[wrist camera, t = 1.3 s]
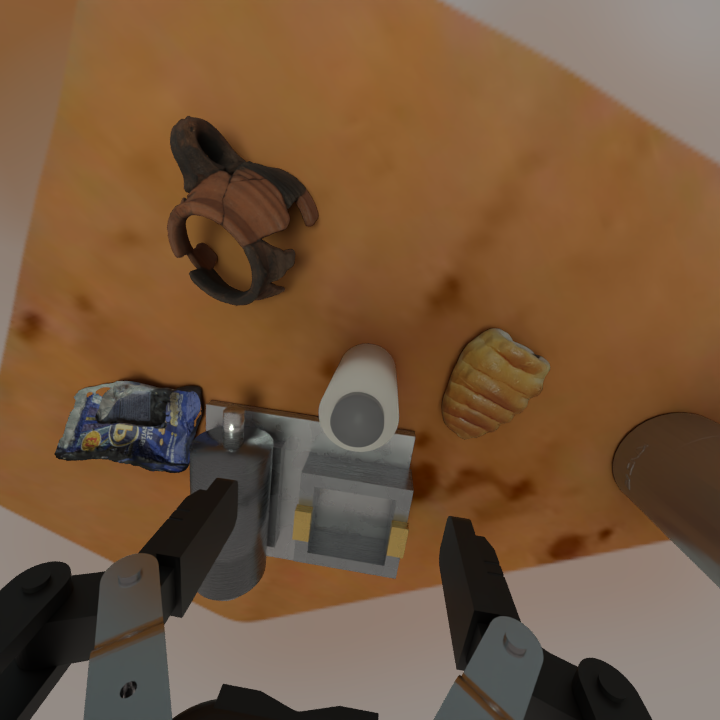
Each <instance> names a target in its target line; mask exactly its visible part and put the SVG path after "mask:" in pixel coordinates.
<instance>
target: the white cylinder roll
mask: <svg viewBox="0 0 720 720" xmlns="http://www.w3.org/2000/svg"><path fill="white" fill-rule="evenodd" d="M319 421H320V425H321V427H322V429H323V431H324V433H325V434H326V436H327V437H328V438H329V439H330V440H331V441H332V442H333V443H335V444H336V445H338V446H339V447H341V448H344V449H346V450H350V451H355V452H366V451H371V450H374V449H377V448H379V447H381V446H383V445H384V444H385V443H387V442H388V441H389V440H390V439H391V438H392V436H393V435H394V433H395V431H396V429H397V426H398V422H399V407H398V391H397V376H396V366H395V362H394V360H393V358H392V356H391V355H390V354H389V353H388V352H387V351H386V350H385V349H383V348H382V347H380V346H378V345H374V344H360V345H356V346H354V347H352V348H351V349H349V350H348V351H347V352H346V353H345V354H344V356H343V357H342V359H341V361H340V363H339V365H338V367H337V369H336V371H335V373H334V375H333V377H332V380H331V382H330V384H329V386H328V388H327V390H326V392H325V394H324V396H323V398H322V400H321V402H320V406H319Z"/></svg>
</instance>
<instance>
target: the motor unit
mask: <svg viewBox="0 0 720 720" xmlns="http://www.w3.org/2000/svg"><path fill="white" fill-rule="evenodd" d="M414 441H415V431H408V430H402V429H396V431H395V433H394V435H393V436H392V438H391V439H390V440H389V441H388V442H387V443H385V444H384V445H383V446H381V447H379V448H377V449H374V450H371V451H366V452H355V451H350V450H346V449H344V448H341V447H339V446H338V445H336V444H335V443H333V442H332V441H331V440H330V439H329V438H328V437H327V436H326V434H325V433H324V431H323V429H322V427H321V425H320V421H319V417H318V416H311V415H305V414H299V413H292V412H286V411H279V410H273V409H266V408H260V407H253V406H247V405H240V404H234V403H228V402H221V401H215V400H211V401H210V402H208V403H207V404H206V432H204V433H202V434H200V435H198V436H197V437H196V438H195V439H194V440H193V441H192V443H191V445H190V495H191V494H193V493H194V492H196V491H197V490H199V489H202V490H207V489H208V488H209V486H210V485H211V484H212V483H213V481H214V480H215V479H216V478H224V479H230V480H237V481H238V515H237V520H236V524H235V527H234V529H233V531H232V533H231V535H230V536H229V538H228V540H227V542H226V543H225V545H224V547H223V549H222V550H221V552H220V554H219V555H218V557H217V559H216V561H215V562H214V564H213V566H212V567H211V569H210V571H209V573H208V574H207V576H206V578H205V579H204V581H203V583H202V585H201V586H200V588H199V590H198V591H197V592H198V593H199V594H200V595H202V596H204V597H206V598H208V599H212V600H220V601H228V600H232V599H235V598H237V597H239V596H241V595H243V594H245V593H247V592H248V591H250V590H251V589H252V588H253V587H254V586H255V585H256V584H257V583H258V582H259V581H260V579H261V578H262V576H263V574H264V571H265V567H266V556H271V557H277V558H282V559H288V560H293V561H297V562H303V563H309V564H315V565H320V566H326V567H332V568H338V569H343V570H349V571H355V572H361V573H366V574H372V575H378V576H384V577H389V578H395V579H396V574H397V569H398V564H399V559H400V558H403V555H404V550H405V545H406V541H407V536H408V531H409V527H408V523H407V520H408V515H409V510H410V506H411V501H412V496H413V481H412V472H411V469H409V467H410V462H411V457H412V452H413V446H414Z"/></svg>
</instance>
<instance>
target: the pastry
mask: <svg viewBox="0 0 720 720" xmlns="http://www.w3.org/2000/svg"><path fill="white" fill-rule="evenodd" d="M549 370H550V364H549V363H548V361H547V360H546V359H544V358H543V357H541V356H538V355H535V354H534V353H533V352H532V351H531V350H530V349H529V348H527V347H525V346H523V345H521V344H519V343H517V342H514V341H513V340H512V338H511V337H510V335H509V334H508V333H506V332H504V331H502V330H501V329H497V328H491V329H489V330H487V331H485V332H483V333H482V334H480V335H479V336H478V337H476V338H475V339H474V340H472V341H471V342H470V343H468V345H467V346H466V347H465V348H464V350H463V352H462V353H461V354H460V357H459V359H458V362H457V364H456V366H455V368H454V369H453V372H452V374H451V377H450V380H449V383H448V386H447V389H446V392H445V394H444V397H443V401H442V414H443V419H444V423H445V424H446V425H447V427H448V428H450V429H451V430H452V431H454V432H455V433H456V434H457V435H458V436H459V437H461V438H462V439H469V438H477V437H480V436H482V435H484V434H486V433H488V432H494V431H495V430H497V429H498V427H499V426H500V425H501V424H503V423H508V422H510V421H511V420H512V418H513V416H514V415H515V414H518V413H521V412H522V411H523V410H524V409H525V408H526V407H527V404H528V400H529V398H531V397H535V396H538V395H539V394H540V393H541V391H542V389H543V381H544V378H545V376H546V375H547V373H548V372H549Z"/></svg>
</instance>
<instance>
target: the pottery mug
mask: <svg viewBox="0 0 720 720" xmlns="http://www.w3.org/2000/svg"><path fill="white" fill-rule="evenodd" d="M170 145H171V150H172V153H173V155H174V158H175V160H176V161H177V163H178V166H179V168H180V170H181V172H182V175H183V178H184V189H185V191H186V192H188V193H189V194H188V195H187V199H186V198H183V199H182V201H181V203H180V204H179V205H177V206H175V208H174V209H173V210H172V212H171V214H170V217H169V220H168V225H167V230H168V238H169V242H170V245H171V248H172V251H173V253H174V255H175V256H176V257H177V258H181V257H183V256H184V255H186V254H187V256H188V257H189V259H190V261H191V262H192V263H193V265H194V266H195V267H196V268H197V269H196V270H193V271H190V273H189V275H190V278H191V280H192V281H193V282H194V283H195V284H196V285H197V286H198V287H199V288H200V289H201V290H203V291H204V292H206V293H207V294H208V295H210V296H212V297H213V298H215V299H217V300H219V301H222V302H224V303H229V304H232V305H236V306H237V305H247V304H250V303H252V302H253V301H254V300H261V299H265V298H268V297H272V296H274V295H277V294H280V293H282V292H283V291H285V288H284V287H282V286H276V285H275V284H273V283H271V282H273V281H277V280H279V279H280V278H281V277H283V276H284V274H285V273H286V271H287V270H288V269H289V268H291V267H292V266H293V265H294V261H295V251H294V250H293V249H288V250H285V251H283V250H281V249H280V248H277V247H274V246H272V245H270V244H268V243H267V242H265V241H263V240H262V238H264V237H266V236H269V235H271V234H273V233H275V232H278V231H282V230H285V229H286V228H287V226H288V224H289V221H290V216H289V213H288V211H287V209H288V208H290V207H291V205H292V204H293V203H294V202H296V204H297V206H298V208H299V209H300V212H301V214H302V217H303V219H304V222H305V224H306V226H312V225H313V224H314V223H315V221H316V220H317V219H318V216H319V215H318V211H317V208H316V205H315V203H314V201H313V199H312V197H311V196H310V194H309V192H308V191H307V190H306V188H305V187H304V185H303V184H302V183H301V182H300V181H299V180H298V179H297V178H295V177H294V176H293V175H291V174H289V173H288V172H286V171H284V170H281V169H278V168H272V167H266V166H263V165H260V164H256V163H252V162H250V161H248V162H246V161H245V160H244V159H242V158H241V157H240V156H238V155H237V153H236V152H235V151H234V150H233V149H232V148H231V146H230V145H229V143H228V142H227V141H226V139H225V138H224V137H223V136H222V134H221V133H220V132H219V131H218V130H217V129H216V128H215V127H214V126H212V125H211V124H210V123H209V122H207V121H205V120H203V119H200V118H193V117H190V116H187V117H186V118H185V119H181V120H179V121H178V123H177V124H176V125H174V126H173V128H172V131H171V136H170ZM191 215H199V216H203V217H206V218H209V219H211V220H213V221H215V222H216V223H218V224H220V225H222V226H223V227H224V228H225V229H226V230H227V231H228V232H229V233H230V234H231V235H232V236H233V237H234V238H235V239H236V240H237V242H238V243H239V244H240V246H241V247H243V249H244V251H245V254H246V256H247V258H248V260H249V263H250V266H251V270H252V284H251V288H250V289H249V290H248V291H245V292H243V291H240V290H237V289H235V288H233V287H231V286H229V285H228V284H227V283H226V282H225V281H224V280H223V279H222V278H221V277H220V276H219V275H218V274H217V272H216V271H215V270H214V269H213V268H214V266H215V264H216V261H217V256H216V254H215V253H214V252H213V251H212V249H210V248H209V247H208V246H207V245H206V244H205V243H199V244H197V246H196V248H194V249H193V248H192V246H191V244H190V241H189V238H188V235H187V230H186V220H187V218H188V217H189V216H191Z"/></svg>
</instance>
